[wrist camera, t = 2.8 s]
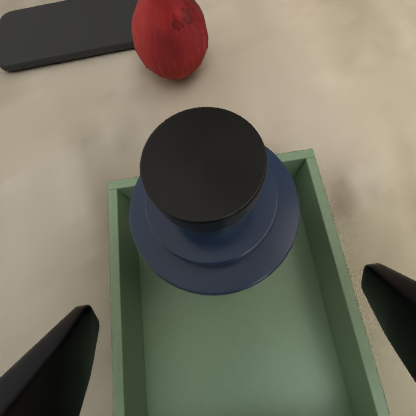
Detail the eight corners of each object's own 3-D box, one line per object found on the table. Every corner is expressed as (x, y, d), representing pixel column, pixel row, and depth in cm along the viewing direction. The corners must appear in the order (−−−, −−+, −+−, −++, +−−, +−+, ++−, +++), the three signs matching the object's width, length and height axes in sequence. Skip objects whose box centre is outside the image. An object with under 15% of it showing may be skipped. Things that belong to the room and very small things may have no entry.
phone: (148, 39, 24) (-7, 68, 25) (151, 46, 25) (1, 75, 25) (142, -16, 26) (0, 12, 27) (144, -7, 27) (6, 20, 28)
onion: (205, 43, 25) (193, -65, 17) (216, 92, 23) (208, -4, 15) (145, 56, 25) (107, -46, 17) (152, 105, 23) (113, 17, 15)
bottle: (256, 301, 17) (321, 341, 5) (167, 277, 18) (30, 258, 6) (273, 213, 19) (355, 72, 6) (191, 195, 20) (124, 42, 7)
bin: (367, 444, 15) (415, 500, 11) (144, 470, 16) (115, 532, 12) (296, 174, 20) (313, 147, 16) (130, 201, 21) (107, 181, 17)
